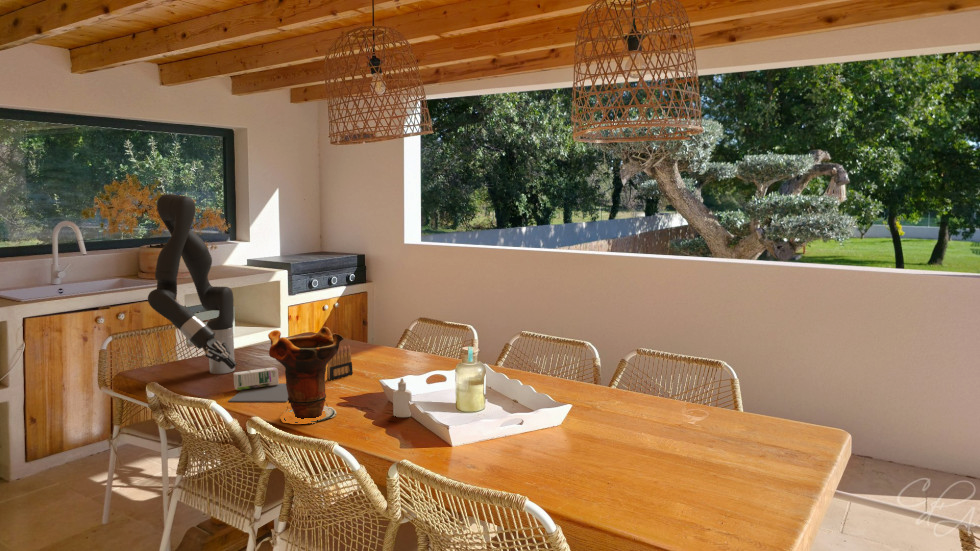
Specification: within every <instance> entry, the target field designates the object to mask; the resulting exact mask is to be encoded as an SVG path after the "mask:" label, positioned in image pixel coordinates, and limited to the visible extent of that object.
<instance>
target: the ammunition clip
mask: <svg viewBox="0 0 980 551" xmlns="http://www.w3.org/2000/svg"><path fill="white" fill-rule="evenodd" d="M351 353H352V352H351V347H350V344H349V343H348V344H347V346H346V344H344V345H343V346H342V345H339V349H338V351H337V353H336V354H335V356H334V357H333V358H332V359H331V360H330V361H329V362H328V363H327V366H326V376H327V378H326V379H327V381H331V380H332V381H335V380H339V379H342V378H341V377H343V378H345V376H346V377H349V376H348V375H350V376H352V374H353V373H354V372H353V362H352V354H351ZM353 375H354V374H353ZM338 378H339V379H338ZM334 379H335V380H334Z"/></svg>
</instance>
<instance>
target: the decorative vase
mask: <svg viewBox="0 0 980 551" xmlns="http://www.w3.org/2000/svg"><path fill="white" fill-rule="evenodd" d="M281 334H282V333H281V331H280V330H278V329H274V330H272V331H270V332H269V333H268V335H267V337H268V339H269V340H270V348H269V350H268V351H269V352H268V355H269V357H271V358H272V359H274V360H276V361H277V362H279V363H280V364H281V365H282V366H283V367H284V369H285V370H284V376H285V383H286V387H287V392H288V401H287V402H288V405H289V404H290V407H291V409H292V410H290V409H289V410H290V411H289V412H292V411H293V412H294V414H295V417H297V418H301V419H304V418H316V417H319V416H321V415H322V412H323V411H325V414H326V417H324V418H323V419H321V420H318V422H319V421H325V420H327V419H332V418H333V417H336V416H337V411H336V408H333V407H332V406H328V403H327V402H326V398H327V393H326V373H327V366H328V362H329V361H330V360H331V359H332V358H333V357H334V356H336V353H337V351H338V349H339V350H340V343H341V342H342V341H343V340H344V339H345V337H343V336H342V335H341V334H339V333H334V332H333V333H332V332H331V330H330V328H328V327H326V326H323V327H321V328H319V331H317V332H316V333H315V334H312V335H304V336H303V335H301V336H293V337H287V338H286V337H284V336H283V337H282V336H281ZM325 404H326V405H325ZM286 408H287V409H288V408H289V406H287V407H286ZM285 411H286V412H287V411H288V410H285ZM284 420H285V418H284ZM285 421H286V420H285ZM311 422H317V421H311ZM318 422H317V423H318ZM295 423H298V422H295Z"/></svg>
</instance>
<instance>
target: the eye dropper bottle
mask: <svg viewBox="0 0 980 551" xmlns="http://www.w3.org/2000/svg"><path fill="white" fill-rule="evenodd" d="M397 387H398V388H397V389H395V390H394V391H393V393H392V409H393V410H392V411H393V416H394V417H395V416H396V417H397V418H411V416H412V415H411V412H410V409H409V406H408V402H409V401H410V402H412V401H413V400H412V392H411V390H408V389H407V382H406V381H404V378H403V377H401V378H400V380H399V381H398V382H397ZM412 403H413V402H412Z"/></svg>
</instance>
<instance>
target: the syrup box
mask: <svg viewBox="0 0 980 551" xmlns="http://www.w3.org/2000/svg"><path fill="white" fill-rule="evenodd" d="M279 383H280V382H279V370H278V367H275V366H273V367H266V368H257V369H251V370H244V371H235V372H233V385H234V389H235V390H236V391H241V390H244V389H250V388H257V387H264V386H271V385H278V384H279Z"/></svg>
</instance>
